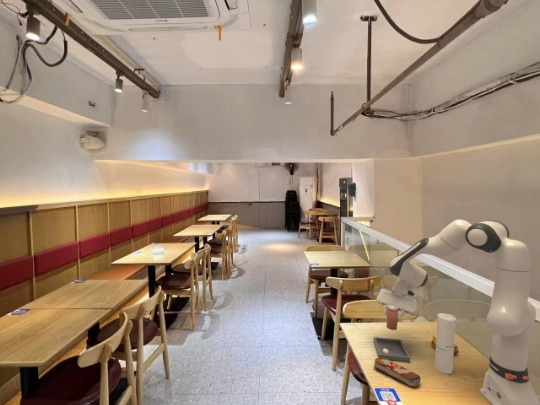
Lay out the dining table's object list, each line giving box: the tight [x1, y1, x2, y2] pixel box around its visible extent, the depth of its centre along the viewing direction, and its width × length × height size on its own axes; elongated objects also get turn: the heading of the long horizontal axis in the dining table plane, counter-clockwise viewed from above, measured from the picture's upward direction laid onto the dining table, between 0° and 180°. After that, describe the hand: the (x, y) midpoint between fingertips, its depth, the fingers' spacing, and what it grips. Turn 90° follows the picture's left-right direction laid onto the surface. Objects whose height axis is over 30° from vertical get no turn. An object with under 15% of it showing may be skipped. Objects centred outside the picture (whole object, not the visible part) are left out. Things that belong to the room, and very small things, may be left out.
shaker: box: [385, 304, 399, 331], centre depth 149 cm, size 5×5×11 cm
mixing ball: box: [382, 349, 389, 354], centre depth 147 cm, size 3×3×3 cm
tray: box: [373, 336, 411, 364], centre depth 150 cm, size 16×14×2 cm
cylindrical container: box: [434, 312, 457, 375], centre depth 136 cm, size 7×7×25 cm
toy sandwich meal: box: [430, 335, 460, 354], centre depth 154 cm, size 12×14×5 cm
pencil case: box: [373, 357, 421, 388], centre depth 132 cm, size 11×20×5 cm, turn 29°
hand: (391, 316), depth 149 cm, fingers closed on shaker, 5 cm apart
